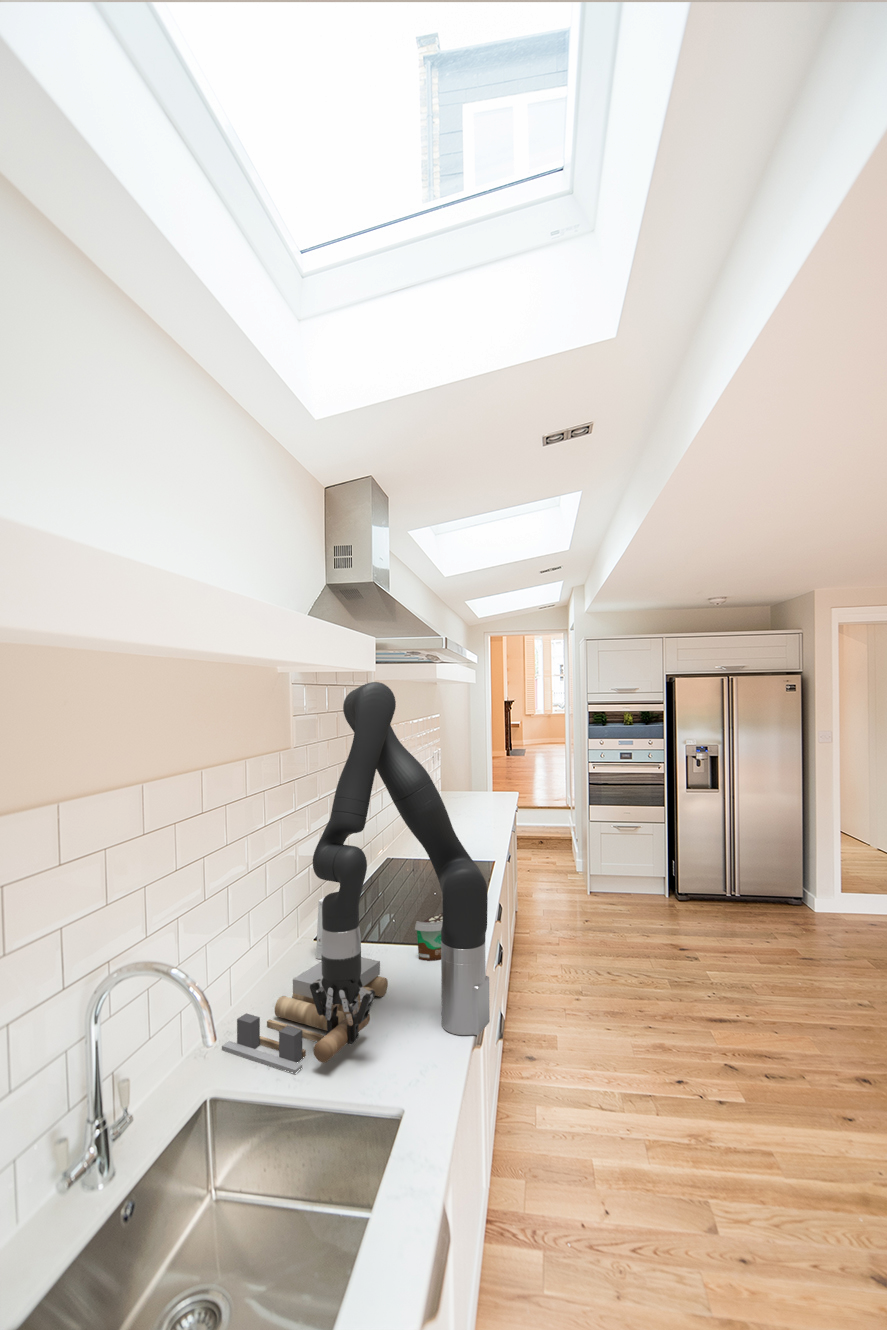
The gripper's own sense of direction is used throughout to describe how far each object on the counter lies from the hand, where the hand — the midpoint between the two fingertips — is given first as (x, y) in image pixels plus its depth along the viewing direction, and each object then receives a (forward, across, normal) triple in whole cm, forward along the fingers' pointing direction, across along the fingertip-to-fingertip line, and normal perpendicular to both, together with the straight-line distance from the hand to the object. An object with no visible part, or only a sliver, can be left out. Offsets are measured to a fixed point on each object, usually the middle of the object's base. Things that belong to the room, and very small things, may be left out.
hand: (342, 1039), depth 128 cm
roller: (+1, 0, 0) cm, 1 cm away
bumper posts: (+3, +13, +5) cm, 15 cm away
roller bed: (+3, +13, -11) cm, 17 cm away
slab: (-1, +12, -17) cm, 21 cm away
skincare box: (+3, +27, -38) cm, 46 cm away
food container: (+3, +2, -49) cm, 49 cm away
